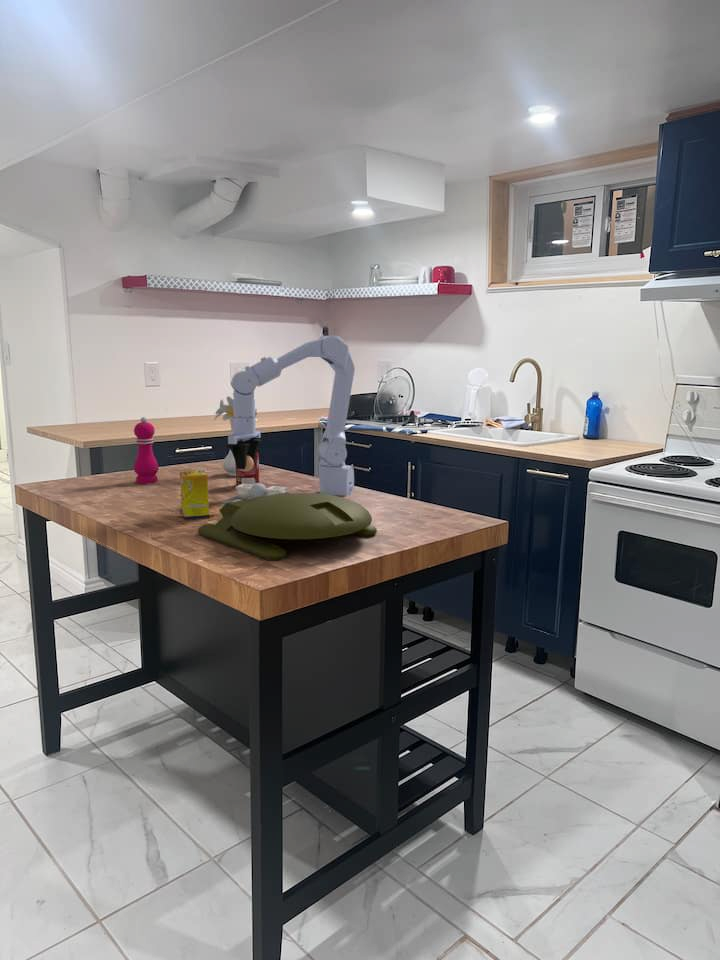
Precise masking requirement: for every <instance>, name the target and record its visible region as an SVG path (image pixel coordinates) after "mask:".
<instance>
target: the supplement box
mask: <svg viewBox="0 0 720 960" xmlns="http://www.w3.org/2000/svg"><path fill="white" fill-rule="evenodd" d="M179 477H180V481H179V482H180V497H181V498H180V499H181V502H180V503H181V515H182V517H184V520H185V519H190V520H199V519H198V518H202V519H209V518H210V509H209V508H210V506H209V503H210V502H209V484H208V483H209V481H208V480H209V479H208V474H207V473H206V472H205V470H193V471H192V470H190V471H189V470H187V471H180V472H179ZM196 518H197V519H196Z"/></svg>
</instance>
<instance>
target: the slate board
mask: <svg viewBox="0 0 720 960" xmlns="http://www.w3.org/2000/svg"><path fill="white" fill-rule="evenodd" d="M266 496H267V494H266ZM251 498H253V497H250V498H248V499H251ZM240 500H246V499H240V498H238V497H237V494H236V495H234V496H232V497H229V498H227V499H224V500H222V501H219V504H226V503H229V502H234V501H240Z"/></svg>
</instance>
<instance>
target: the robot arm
mask: <svg viewBox="0 0 720 960" xmlns="http://www.w3.org/2000/svg"><path fill="white" fill-rule="evenodd" d="M307 358H320V359H322V360H323V361H325V362H326V363H328V364H329V366H330V367H331V368H332V370H333V371H334V379H333V384H332V389H331V390H332V391H331V397H330V404H329V410H328V416H327V423H326V428H325V430H324V432H323V434H322V438H321V441H320V442H319V444H317V455H318V456H319V458H320V461H319V463H318V470H319V471H318V473H319V474H318V479H319V480H318V489H319V491H318V492H319V493H320V494H329V495H334V496H340V497H342V496H343V497H347V496H349V495H351V494H353V493H355V492H354V491H355V471H354V467H353V466H352V465H346V462H345V461H346V459H347V457H348V450H347V448H346V443H347V439H346V438H347V437H346V433H345V431H346V423H347V418H348V412H349V405H350V401H351V400H350V399H351V395H352V394H351V393H352V388H353V381H354V376H355V365H354V361H353V359H352V357H351V353H350V350H349V346H348V344H347V343H345V341H344V339H343V338H342V337H340V336H338V335H322V336H320V337H319V338H315V339H312V340H309V341H306V342H305V343H303V344H300V345H299V346H297V347H296V348H293V349H291V350H290V351H288V352H286V353H285V354H283V355H281V356H279V357H277V358H274V357H272V356H268V357H266V356H264V357H261V358H260V361H259V362H256V363H255V364H253V365H251V366H249V365H247V366H245V367H244V369H245V370H244V371H243V370H241V371H238V372H236V373H234V374H233V376H232V377H231V381H230V385H231V387H232V389H233V394H232V396H233V398H232V399H233V417H234V432H233V433H231V432H230V435H228V436H227V446H228V449H229V451H230V450H231V451H232V454H233V456H234V459H235V463H236V466H237V469H245V467H246V457H247V455H248V456H250V457H251V458H252V459H253V461H254V463H255V458H256V454H257V453H258V451H259V448H260V446H261V444H262V439H260V438H261V430H256V420H255V409H256V399H255V390H256V388H257V387H258V388H259V387H262V386H263V385H265V384H268V383H269V382H271V381H273V380H276V379H277V378H280V376H281V374H282V371H283V370H284V369H286V368H288V367H290V366H292V365H294V364H297V363H299V362H300V361H303V360H306V359H307ZM257 438H258V439H257ZM253 466H254V465H253Z"/></svg>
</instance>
